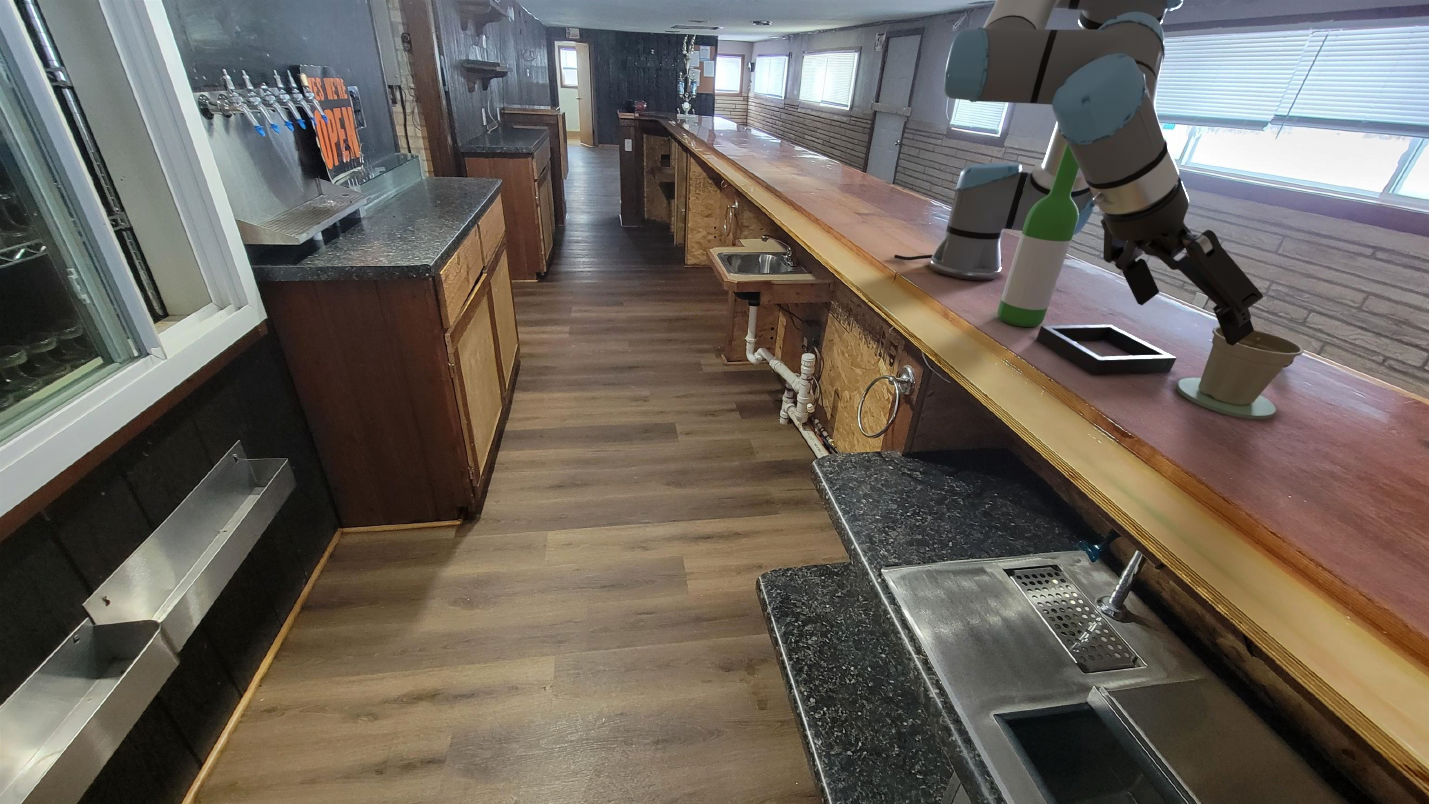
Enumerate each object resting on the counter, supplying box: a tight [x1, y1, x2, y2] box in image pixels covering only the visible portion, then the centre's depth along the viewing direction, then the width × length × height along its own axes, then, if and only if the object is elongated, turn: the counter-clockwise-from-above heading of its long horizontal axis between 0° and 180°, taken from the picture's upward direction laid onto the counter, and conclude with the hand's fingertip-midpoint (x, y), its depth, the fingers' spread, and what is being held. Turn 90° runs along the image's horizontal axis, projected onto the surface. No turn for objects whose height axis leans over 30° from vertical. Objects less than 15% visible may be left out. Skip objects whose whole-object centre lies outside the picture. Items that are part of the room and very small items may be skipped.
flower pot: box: [1198, 325, 1305, 405], centre depth 77 cm, size 9×9×9 cm
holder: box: [1035, 324, 1177, 376], centre depth 91 cm, size 13×13×2 cm
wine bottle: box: [997, 143, 1079, 328], centre depth 96 cm, size 8×8×30 cm
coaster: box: [1175, 377, 1277, 420], centre depth 79 cm, size 11×11×1 cm
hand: (1191, 316), depth 73 cm, fingers open, 13 cm apart
